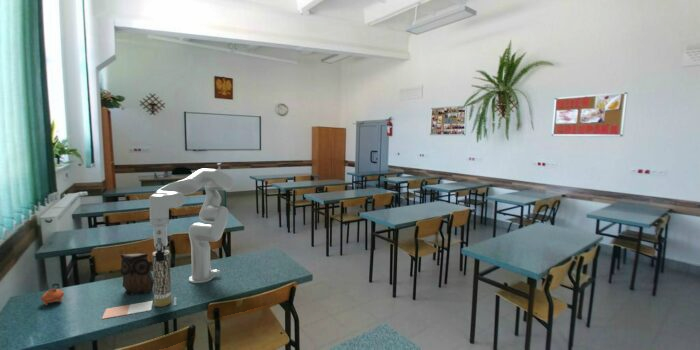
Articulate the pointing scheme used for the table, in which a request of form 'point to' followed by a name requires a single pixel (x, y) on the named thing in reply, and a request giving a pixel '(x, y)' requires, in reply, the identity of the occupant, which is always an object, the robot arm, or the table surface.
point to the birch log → (162, 280)
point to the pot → (52, 296)
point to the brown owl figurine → (136, 274)
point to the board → (129, 309)
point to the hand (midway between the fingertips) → (160, 257)
